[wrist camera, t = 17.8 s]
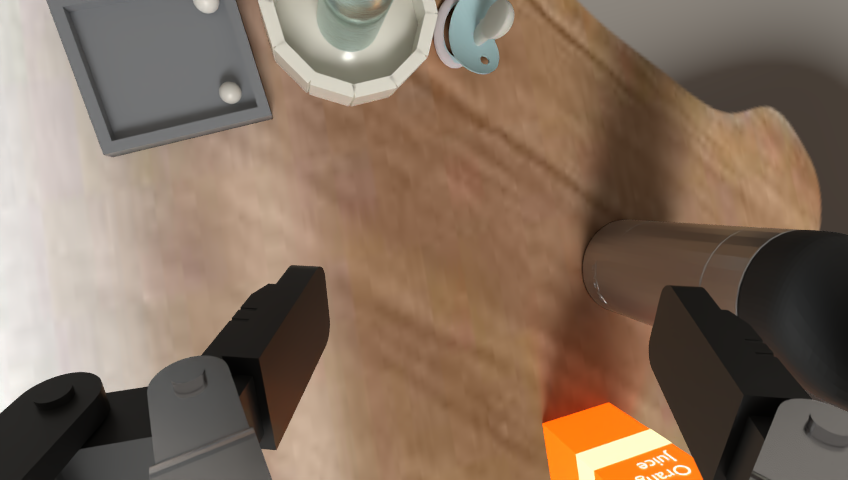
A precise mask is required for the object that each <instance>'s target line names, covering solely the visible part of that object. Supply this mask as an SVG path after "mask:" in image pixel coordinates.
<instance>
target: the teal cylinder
mask: <svg viewBox="0 0 848 480" xmlns="http://www.w3.org/2000/svg"><path fill="white" fill-rule="evenodd" d="M392 2H393V0H318V5H317V23H318V27H319V30H320V32H321V34H322V35H323V37H324V38H325V40H326V41H327V42H328V43H329V44H331V45H332V46H333V47H335V48H337V49H339V50H342V51H346V52H356V51H360V50H363V49H365V48H367V47H368V46H369V45H371V44H372V42H373V41H374V40H375V38H376V36H377V34H378V32H379V30H380V28H381V26H382V24H383V21H384V19H385V17H386V15H387V13H388V11H389V9H390V6H391V4H392Z"/></svg>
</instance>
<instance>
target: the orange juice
mask: <svg viewBox="0 0 848 480" xmlns="http://www.w3.org/2000/svg"><path fill="white" fill-rule="evenodd" d="M542 425H543V431H544V438H545V444H546V451H547V457H548V464H549V470H550V477H551V480H703V478H702V476H701V474H700V472H699V470H698V468H697V465H696V463H695V461H694V459H693V457H691V456H690V455H688V454H687V453H685V452H684V451H682V450H681V449H679V448H678V447H676V446H675V445H673V444H672V443H671V442H670V441H668V440H667V439H665V438H664V437H662V436H661V435H659V434H657V433H656V432H654V431H653V430H651V429H649V428H647V427H646V426H644V425H643V424H641V423H639V422H638V421H636V420H635V419H633V418H632V417H630V416H629V415H627V414H626V413H624V412H623V411H621V410H620V409H618V408H617V407H615V406H613V405H612V404H610V403H606V404H602V405H599V406H596V407H593V408H590V409H587V410H583V411H580V412H577V413H574V414H571V415H568V416H564V417H561V418H558V419H555V420H552V421H549V422H545V423H542Z"/></svg>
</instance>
